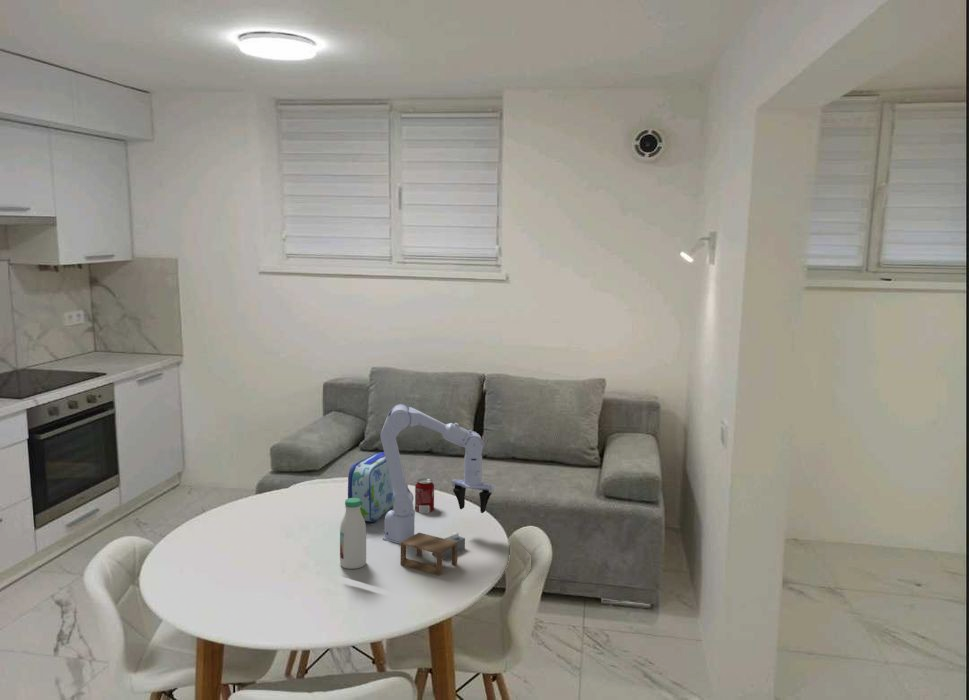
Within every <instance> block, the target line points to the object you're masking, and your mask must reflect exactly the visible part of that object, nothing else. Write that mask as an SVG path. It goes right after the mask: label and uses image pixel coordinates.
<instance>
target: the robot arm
mask: <svg viewBox="0 0 969 700" xmlns="http://www.w3.org/2000/svg"><path fill="white" fill-rule="evenodd" d="M419 425H420V426H422V427H425V428H427V429H430V430H432V431H435V432H437V433H439V434H441V435H442V438H443V439H444V440H446V441H448V442H449V443H452V444H454V445H457V446H458V447H461V448H462V447H463V448H465V449H464V451H465V455H464V459H463V460H464V465H463V466H464V467H463V471H464V472H463V475H464V477H463V479H457V478H456V479H455V478H454V479H452V480H451V487H454V488H452V490H453V493H454V495H455V497H456V500H457V503H458V507H459V510H463V509H464V508H465V505H466V503H465V502H466V500H465V499H466V491H467V489H469V490H470V489H471V490H478V491H480V492H479V493H478V495H479V501H480V509H479V511H480V513H481V514H483V513H485V512H486V509H487V505H488V502H489V500H490V497H491V495H492V493H493V492H495V485H494V484H489V483H486V482H483V481H482V478H483V477H482V475H483V474H482V473H483V472H482V471H483V456H482V454H483V449H484V443H483V440H482V436H481V435H480V434H479V432H478V433H477V431H473V430H471V429H466V428H464V427H463V426H462V427H461V426H459V425H460V424H459V423H457V422H454V423H452V422H449V423H446V424H445V423H443V422H441V421H439V419H436V418H434V417H433V416H430V415H428V414H426V413H424V412H422V411H420V410H418V409H416V408H414V407H412V406H409V407H408V406H407V405H405V404H403V403H401V404H400V403H399V404H396V405H394V406H393V407H392V409H391V410H389V412H388V413H387V416H386V419H385V421H384V424H383V427H382V429H381V431H380V440H381V445H382V449H383V452H384V454H385V458H386V462H387V466H388V471H389V475H390V479H391V483H392V487H393V496H394V505H393V507H392V508H393V509H390V510H388V511H387V512H386V513H385V518H384V521H383V522H384V523H383V524H384V528H383V530H384V532H383V533H384V536H383V537H382V540H384V541H388V542H393V543H395V544H396V543H397V544H400V545H401V542H402V541H404V540H406V539H408V538H410V537H412V536H413V535H415V512H416V511H415V509H414V502H413V501H414V493H413V492H412V491H411V489H409V485H408V483H407V480H406V476H405V472H404V467H403V464H402V463H403V462H402V458H401V454H400V451H399V446H398V441H397V436H398V435H399V433H400V432H402V431H403V430H404V429H406V428H407V427H408V426H410V427H415V426H416V427H417V426H419Z"/></svg>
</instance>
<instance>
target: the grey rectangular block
mask: <svg viewBox="0 0 969 700" xmlns="http://www.w3.org/2000/svg"><path fill="white" fill-rule="evenodd" d="M459 535H460V533H459V532H458V531H453V532H452V535H451V536H447V537H444V536H440V537H439V538H443V539H448V540H452V541H456V542H457V553H459V552H460V551H462V550H465V549H466V538H465V537H463V536H459ZM431 554H432V556H434V557H437V554H436V553H432V552H431ZM451 556H452V547H451V548H450V549H448V550H446V551H445V552H443V553H442V560H444V559H446V558H449V557H451Z"/></svg>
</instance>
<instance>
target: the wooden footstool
mask: <svg viewBox="0 0 969 700" xmlns="http://www.w3.org/2000/svg"><path fill="white" fill-rule="evenodd" d="M407 547H410V548H414V549H416V556H417V557H421V556H422V555H423V551H425V552H428V553H431V554H432V553H436V554H437V557H436V556H435V557H436V561H435V563H436V565H432V564H429V563H426V562H421V561H418V560H414V559H411V558H407ZM451 547H452V555H451V566H456V565H458V552H457V542H456V541H452V540H448V539H443V538H440V537H439V536H435V535H430V534H425V533H423V532H417V533H414V535H413V536H412V537H410V538H408V539H406V540H404V541H402V542H401V544H400V566H403V567H404V566H405V567H408V568H412V569H416V570H420V571H422V572H426V573H430V574H433V575H434V574H435V575H437V576H438V577H439V576H441V575H443V559H442V553H443V552H445V551H446V550H448V549H450V548H451Z"/></svg>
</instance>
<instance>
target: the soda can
mask: <svg viewBox="0 0 969 700" xmlns="http://www.w3.org/2000/svg"><path fill="white" fill-rule="evenodd" d="M414 491H415V493H414V511H415V512H417V513H419V514H427V513H429V514H430V513H432V512H434V510H435V484H434V483H433V479H431V478H419V479H417V481H416V483H415V485H414Z"/></svg>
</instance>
